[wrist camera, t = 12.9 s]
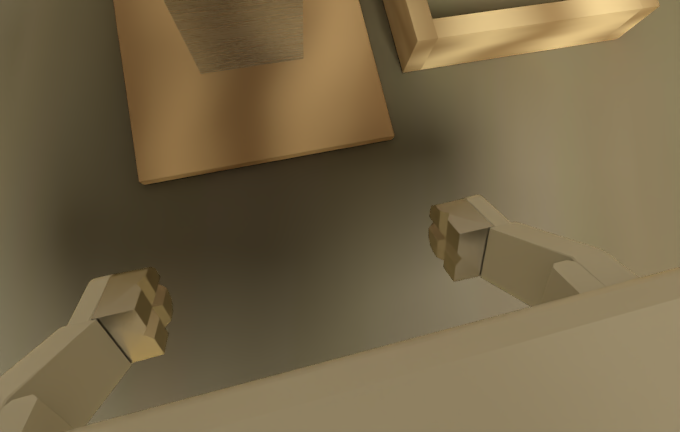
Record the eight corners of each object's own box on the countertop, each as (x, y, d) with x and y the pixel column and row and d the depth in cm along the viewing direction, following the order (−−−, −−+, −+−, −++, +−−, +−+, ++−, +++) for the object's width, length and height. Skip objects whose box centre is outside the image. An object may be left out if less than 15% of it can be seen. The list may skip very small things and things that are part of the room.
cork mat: (144, 184, 16) (138, 181, 16) (112, -38, 18) (106, -47, 18) (392, 139, 18) (394, 135, 17) (339, -61, 20) (340, -70, 19)
